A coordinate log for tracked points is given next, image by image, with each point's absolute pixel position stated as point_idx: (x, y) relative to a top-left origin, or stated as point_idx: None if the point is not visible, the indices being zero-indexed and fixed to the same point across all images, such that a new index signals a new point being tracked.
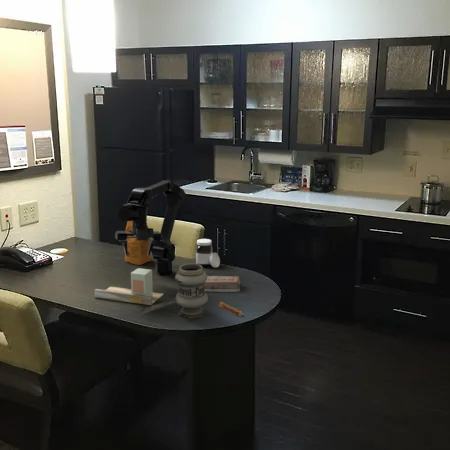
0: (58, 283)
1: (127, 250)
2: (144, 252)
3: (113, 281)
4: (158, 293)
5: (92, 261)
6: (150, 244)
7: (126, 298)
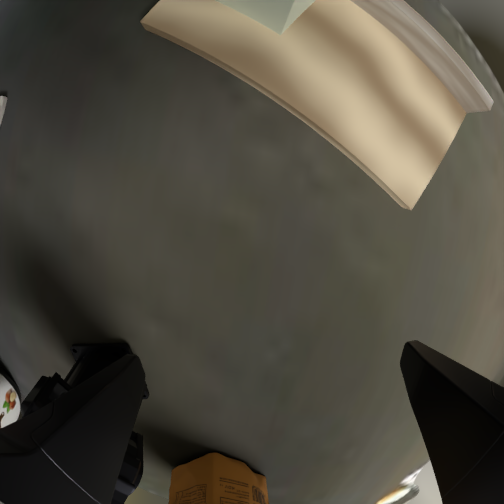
0: (500, 322)
1: (447, 378)
2: (193, 493)
3: (365, 319)
4: (167, 26)
5: (359, 473)
6: (43, 458)
7: None
